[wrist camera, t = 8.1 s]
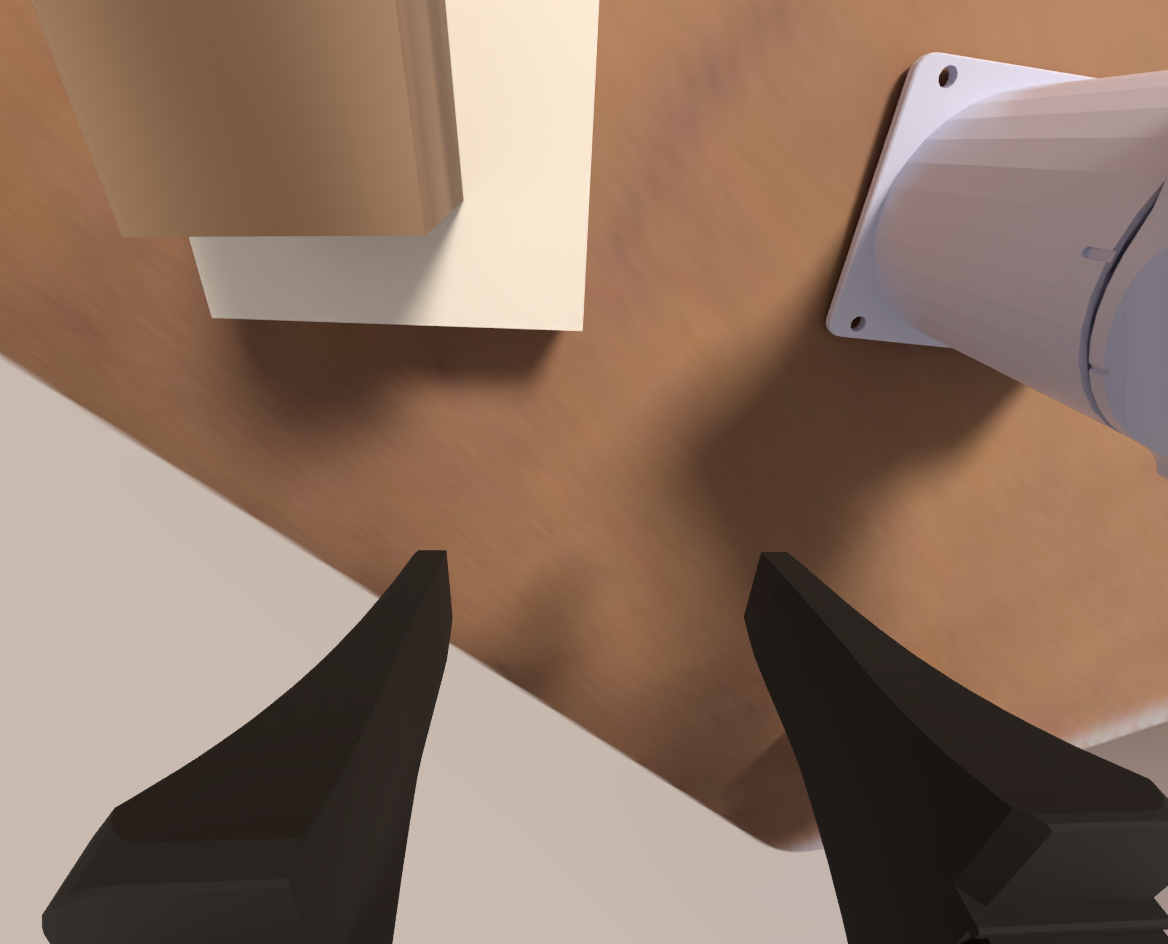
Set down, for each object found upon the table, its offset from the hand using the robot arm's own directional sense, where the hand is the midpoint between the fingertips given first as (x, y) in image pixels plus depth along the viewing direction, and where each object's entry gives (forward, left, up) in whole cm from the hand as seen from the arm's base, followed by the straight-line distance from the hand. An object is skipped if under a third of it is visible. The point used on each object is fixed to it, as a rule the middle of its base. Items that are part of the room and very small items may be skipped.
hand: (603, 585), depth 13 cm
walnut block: (+7, -9, -6) cm, 13 cm away
